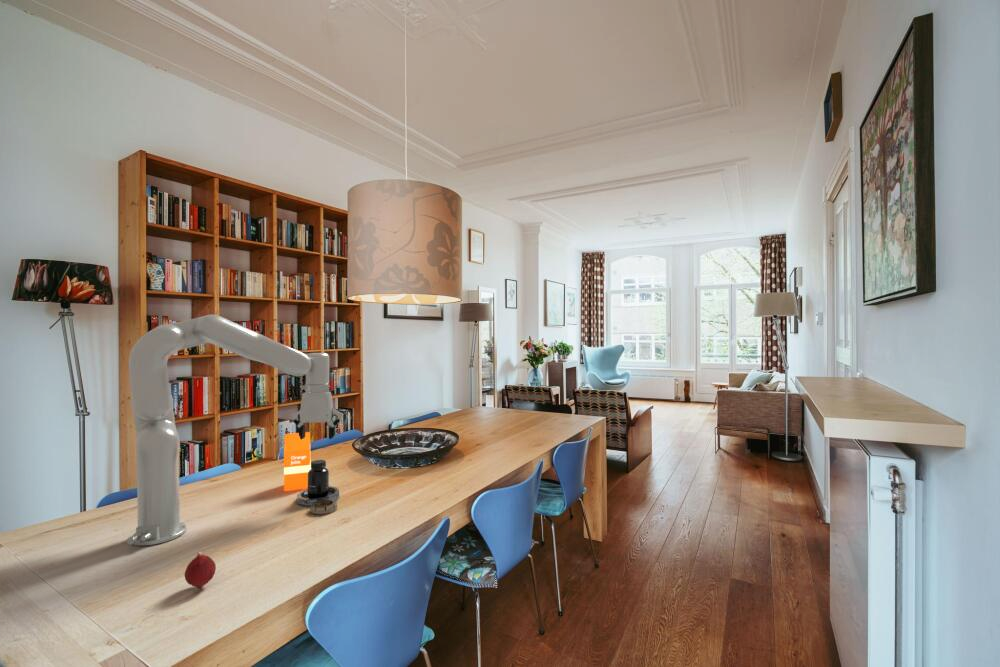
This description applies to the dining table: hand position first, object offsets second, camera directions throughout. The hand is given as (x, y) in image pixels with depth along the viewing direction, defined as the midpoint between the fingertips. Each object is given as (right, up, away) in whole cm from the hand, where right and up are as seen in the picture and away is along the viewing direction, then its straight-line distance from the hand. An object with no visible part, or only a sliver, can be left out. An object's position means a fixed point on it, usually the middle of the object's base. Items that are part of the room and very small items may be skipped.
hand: (317, 438), depth 155 cm
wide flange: (0, -21, 0) cm, 21 cm away
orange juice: (-13, -21, +13) cm, 28 cm away
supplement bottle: (0, -20, 0) cm, 20 cm away
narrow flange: (+6, -21, -9) cm, 24 cm away
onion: (-5, -22, -53) cm, 58 cm away
